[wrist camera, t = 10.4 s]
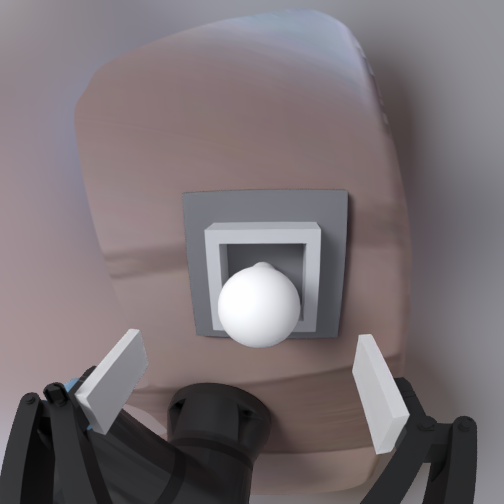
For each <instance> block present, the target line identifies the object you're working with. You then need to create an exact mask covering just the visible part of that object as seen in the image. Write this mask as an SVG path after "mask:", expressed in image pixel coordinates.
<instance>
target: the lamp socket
mask: <svg viewBox="0 0 504 504" xmlns="http://www.w3.org/2000/svg"><path fill="white" fill-rule="evenodd" d="M182 198H183V213H184V226H185V238H186V249H187V259H188V269H189V278H190V287H191V296H192V304H193V311H194V319H195V326H196V333H197V335H203V336H219V337H230V336H229V335H228V334H227V332H226V331H225V330H224V328H223V326H222V324H221V321H220V319H219V314H218V300H219V295H220V293H221V291H222V289H223V286H224V285H225V283H226V282H227V281H228V280H229V279H230V278H231V277H232V276H233V275H234V274H236V273H238V272H239V271H241V270H243V269H246V268H249V267H253V266H254V265H255V264H257V263H259V262H268V263H270V264H271V265H272V266H273V267H274V268H275V270H277V271H279V272H281V273H282V274H284V275H285V276H286V277H287V278H288V279H289V280H290V281H291V282H292V283H293V285H294V286H295V288H296V290H297V292H298V295H299V299H300V315H299V319H298V321H297V324H296V326H295V328H294V329H293V331H292V332H291V334H290V335H289V336H288V337H287V338H337V336H338V328H339V320H340V311H341V301H342V291H343V280H344V267H345V252H346V233H347V201H348V191H347V190H335V189H255V190H223V191H202V192H186V193H182Z"/></svg>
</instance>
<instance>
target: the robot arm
mask: <svg viewBox="0 0 504 504" xmlns="http://www.w3.org/2000/svg"><path fill="white" fill-rule="evenodd" d="M148 365H149V363H148V360H147V356H146V352H145V348H144V344H143V340H142V336H141V331H140V330H136V329H129V330H128V332H127V333H126V334H125V335H124V336H123V338H121V339H120V341H119V342H118V343H117V344H116V345H115V347H114V348H113V349H112V350H111V351H110V352H109V353H108V355H107V356H106V357H105V358H104V359H103V360H102V362H101V363H100V364H99V365H98V366H92V367H91V368H89V369H88V370H86V372H85V373H84V374H83V375H82V376H81V377H80V378H74V379H71V380H70V381H68V382H67V383H66V384H64V385H63V384H62V383H58V382H55V383H52V384H49V385H47V386H46V387H45V389H44V391H43V393H44V395H45V397H46V400H41V399H40V397H39V395H38V394H37V393H33V392H31V393H27V394H25V395H24V396H23V397H22V399H21V400H20V403H19V406H18V409H17V412H16V415H15V419H14V422H13V425H12V429H11V432H10V436H9V440H8V443H7V447H6V451H5V456H4V460H3V465H2V470H1V476H0V504H249V497H250V489H251V480H252V471H253V465H254V462H255V461H256V459H257V457H258V455H259V454H260V452H261V450H262V448H263V447H264V445H265V443H266V441H267V439H268V437H269V434H270V424H271V418H270V414H269V412H268V410H267V409H266V407H265V406H264V405H263V404H262V403H261V402H260V401H259V400H258V399H257V398H255V397H254V396H252V395H251V394H249V393H247V392H245V391H243V390H240V389H238V388H235V387H231V386H228V385H223V384H216V383H198V384H193V385H189V386H186V387H184V388H182V389H181V390H179V391H178V392H177V393H176V394H175V395H174V397H173V399H172V401H171V403H170V406H169V408H168V413H167V441H165V440H164V439H162V438H161V437H160V436H158V435H157V434H155V433H154V432H152V431H151V430H150V429H148V428H147V427H146V426H144V425H143V424H142V423H140V422H138V420H136V419H135V418H134V417H132V416H131V415H130V414H129V413H127V412H126V411H125V410H123V409H122V407H123V405H124V404H125V402H126V401H127V399H128V397H129V396H130V394H131V392H132V391H133V389H134V388H135V386H136V384H137V383H138V381H139V380H140V378H141V376H142V375H143V373H144V372H145V370H146V369H147V367H148ZM352 372H353V375H354V379H355V382H356V385H357V388H358V391H359V395H360V398H361V401H362V405H363V408H364V412H365V415H366V418H367V422H368V426H369V429H370V433H371V436H372V440H373V444H374V448H375V451H376V454H381V453H386V452H391V451H392V449H393V447H394V445H395V446H396V449H397V451H396V452H395V454H394V456H393V457H392V459H391V460H390V462H389V463H388V465H387V466H386V468H385V470H384V471H383V473H382V474H381V476H380V477H379V479H378V480H377V481H376V483H375V484H374V486H373V487H372V488H371V490H370V491H369V492H368V494H367V495H366V496H365V498H364V499H363V500H362V501H361V503H360V504H400V503H401V501H402V499H403V498H404V496H405V494H406V493H407V491H408V489H409V488H410V486H411V484H412V482H413V480H414V478H415V477H416V475H417V473H418V471H419V469H420V467H421V465H422V463H423V462H424V463H431V466H430V472H429V477H428V482H427V487H426V491H425V495H424V499H423V503H422V504H473V500H474V493H475V482H476V468H477V425H476V422H475V421H474V420H473V419H472V418H470V417H467V416H460V417H458V418H457V419H456V420H455V421H454V422H453V424H441V423H437V421H436V420H435V419H434V418H432V417H430V416H426V414H425V412H424V410H423V408H422V406H421V404H420V402H419V400H418V398H417V396H416V394H415V392H414V391H413V388H412V386H411V384H410V383H409V382H408V381H407V380H406V379H405V378H403V377H401V378H394V379H393V377H392V375H391V373H390V371H389V369H388V367H387V365H386V363H385V360H384V358H383V356H382V354H381V352H380V350H379V348H378V346H377V344H376V342H375V340H374V339H373V337H372V335H371V334H366V335H359V338H358V344H357V350H356V355H355V360H354V365H353V370H352Z"/></svg>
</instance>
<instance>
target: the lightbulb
mask: <svg viewBox="0 0 504 504" xmlns="http://www.w3.org/2000/svg"><path fill="white" fill-rule="evenodd" d="M218 314H219V319H220V321H221V324H222V326H223V328H224V330H225V331H226V332H227V334H228V335H229V336H230V337H232V338H233V339H234V340H236V341H237V342H239V343H240V344H243V345H245V346H248V347H253V348H265V347H269V346H273V345H275V344H277V343H280V342H281V341H283V340H284V339H286V338H287V337H288V336H289V335H290V334H291V332H292V331H293V329H294V328H295V326H296V324H297V321H298V319H299V315H300V299H299V295H298V292H297V290H296V288H295V286H294V285H293V283H292V282H291V281H290V280H289V279H288V278H287V277H286V276H285V275H284V274H282V273H281V272H279V271H277V270H275V268H274V267H273V266H272V265H271V264H270V263H268V262H259V263H257V264H255V265H254V266H253V267H249V268H246V269H243V270H241V271H239V272H238V273H236V274H234V275H233V276H232V277H231V278H230V279H229V280H228V281H227V282H226V283H225V285H224V286H223V289H222V291H221V293H220V295H219V300H218Z"/></svg>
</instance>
